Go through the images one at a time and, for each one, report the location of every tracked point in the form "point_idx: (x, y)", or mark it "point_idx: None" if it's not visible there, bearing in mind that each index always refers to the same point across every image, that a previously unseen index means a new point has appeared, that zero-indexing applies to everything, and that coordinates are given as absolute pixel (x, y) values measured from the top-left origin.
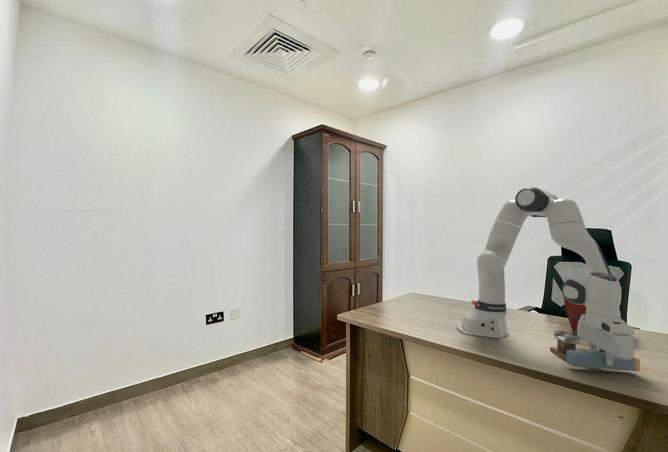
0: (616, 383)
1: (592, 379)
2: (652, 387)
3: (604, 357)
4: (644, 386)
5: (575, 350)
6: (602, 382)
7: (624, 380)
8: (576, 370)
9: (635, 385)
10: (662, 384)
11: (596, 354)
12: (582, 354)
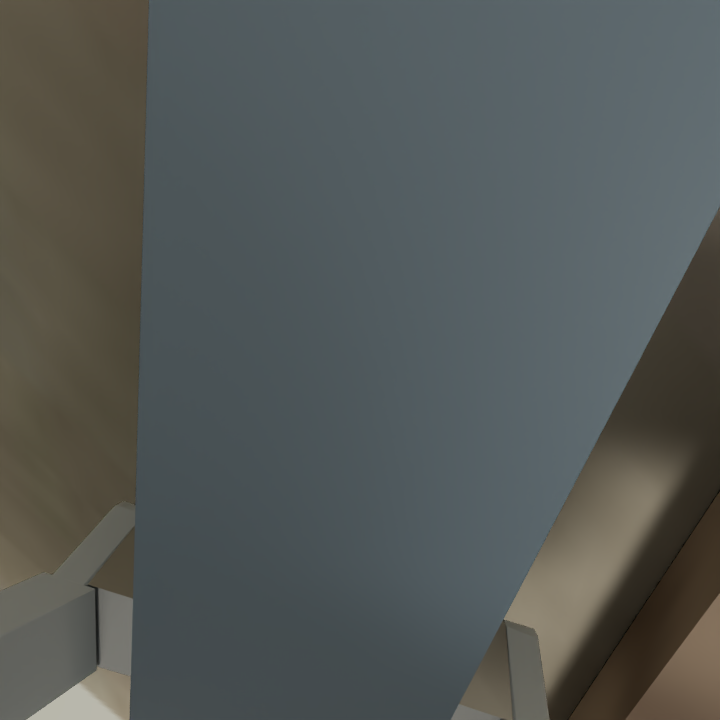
0: (30, 312)
1: (93, 37)
2: (20, 580)
3: (139, 634)
4: (24, 536)
5: (698, 245)
6: (16, 124)
7: (129, 485)
8: None
9: (27, 477)
10: (98, 699)
11: (266, 621)
12: (234, 142)
